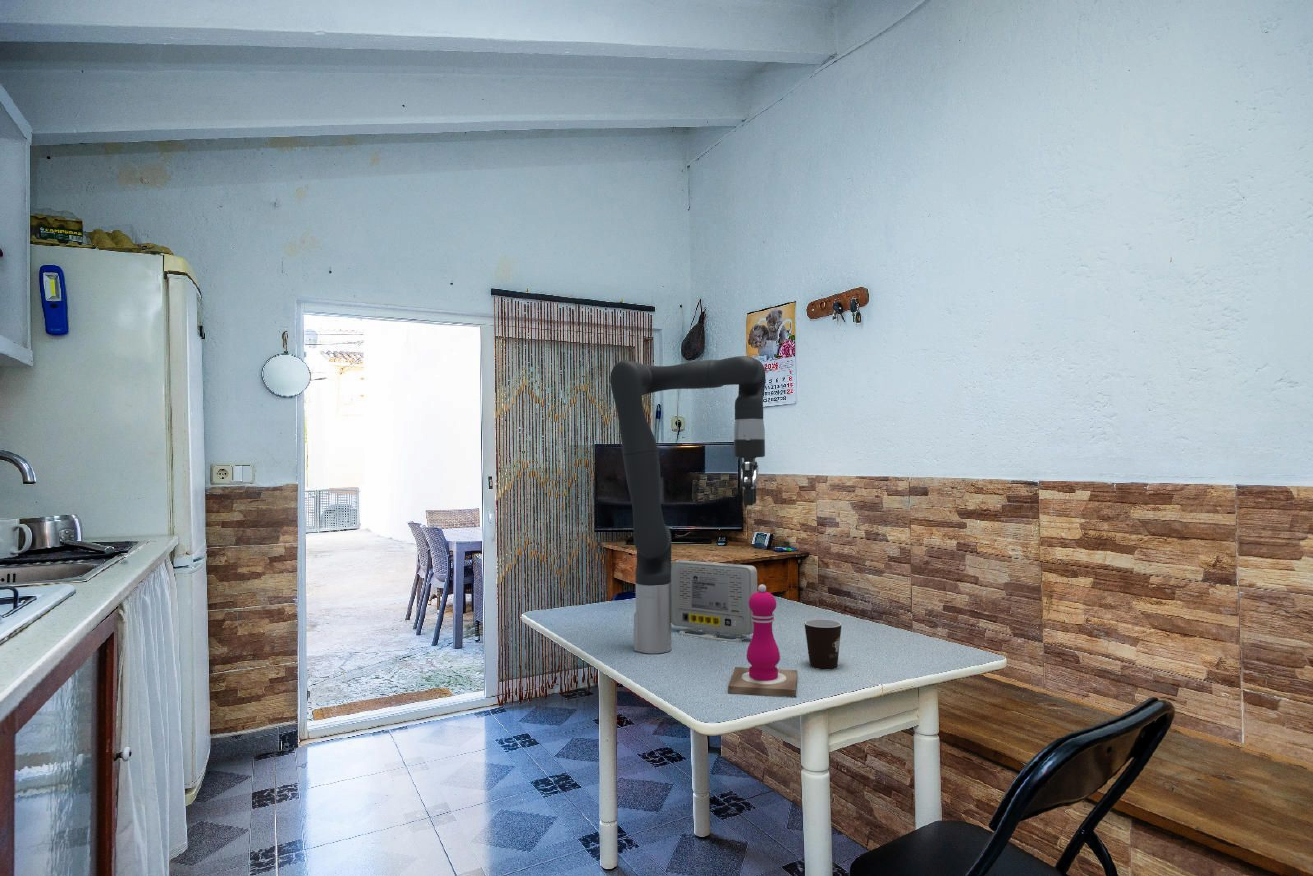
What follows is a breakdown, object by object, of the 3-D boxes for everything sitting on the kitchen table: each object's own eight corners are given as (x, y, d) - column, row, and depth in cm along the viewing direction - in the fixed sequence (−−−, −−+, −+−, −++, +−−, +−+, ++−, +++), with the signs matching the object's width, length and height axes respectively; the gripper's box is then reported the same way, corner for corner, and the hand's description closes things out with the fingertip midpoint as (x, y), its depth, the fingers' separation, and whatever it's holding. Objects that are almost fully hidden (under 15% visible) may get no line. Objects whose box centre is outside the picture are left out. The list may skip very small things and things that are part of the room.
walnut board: (728, 693, 151) (728, 685, 151) (735, 673, 164) (735, 666, 164) (795, 697, 148) (795, 689, 148) (797, 677, 161) (797, 669, 161)
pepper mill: (772, 683, 151) (771, 588, 152) (741, 678, 155) (740, 585, 156) (785, 674, 158) (783, 583, 158) (755, 669, 161) (753, 580, 162)
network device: (761, 638, 197) (760, 565, 197) (747, 645, 189) (746, 569, 190) (681, 627, 210) (680, 558, 211) (665, 633, 203) (664, 562, 204)
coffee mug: (821, 673, 164) (820, 629, 164) (797, 663, 172) (796, 621, 172) (859, 665, 169) (859, 623, 170) (835, 657, 177) (834, 616, 177)
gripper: (737, 439, 184) (738, 502, 183) (730, 437, 170) (731, 506, 169) (766, 438, 182) (767, 502, 182) (762, 437, 168) (763, 506, 168)
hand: (750, 504), depth 176 cm, fingers open, 8 cm apart
